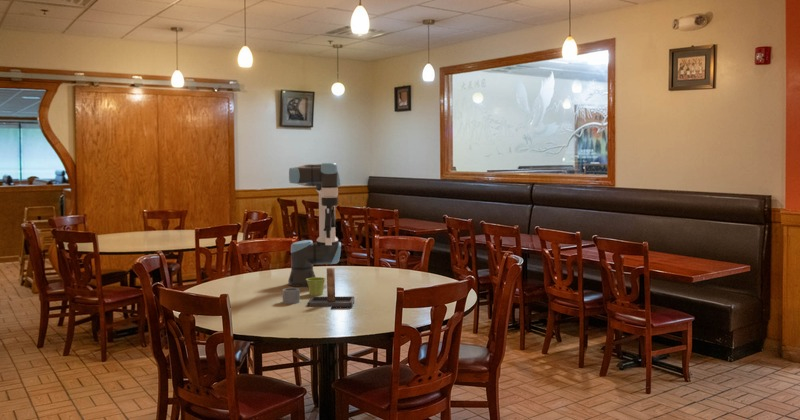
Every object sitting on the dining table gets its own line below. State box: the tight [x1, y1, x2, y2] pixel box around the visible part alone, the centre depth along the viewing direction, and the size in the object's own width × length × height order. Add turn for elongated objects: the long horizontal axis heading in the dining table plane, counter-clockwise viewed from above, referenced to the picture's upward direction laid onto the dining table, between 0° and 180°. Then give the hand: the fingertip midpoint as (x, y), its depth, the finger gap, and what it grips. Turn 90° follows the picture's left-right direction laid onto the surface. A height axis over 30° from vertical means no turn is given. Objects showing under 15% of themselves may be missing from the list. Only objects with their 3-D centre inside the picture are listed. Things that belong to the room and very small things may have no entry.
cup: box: [281, 287, 301, 305], centre depth 314 cm, size 8×8×7 cm
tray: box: [307, 295, 355, 309], centre depth 312 cm, size 14×20×2 cm
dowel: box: [326, 267, 336, 303], centre depth 311 cm, size 4×4×16 cm
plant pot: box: [306, 276, 326, 297], centre depth 332 cm, size 9×9×9 cm
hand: (330, 243), depth 310 cm, fingers open, 13 cm apart
